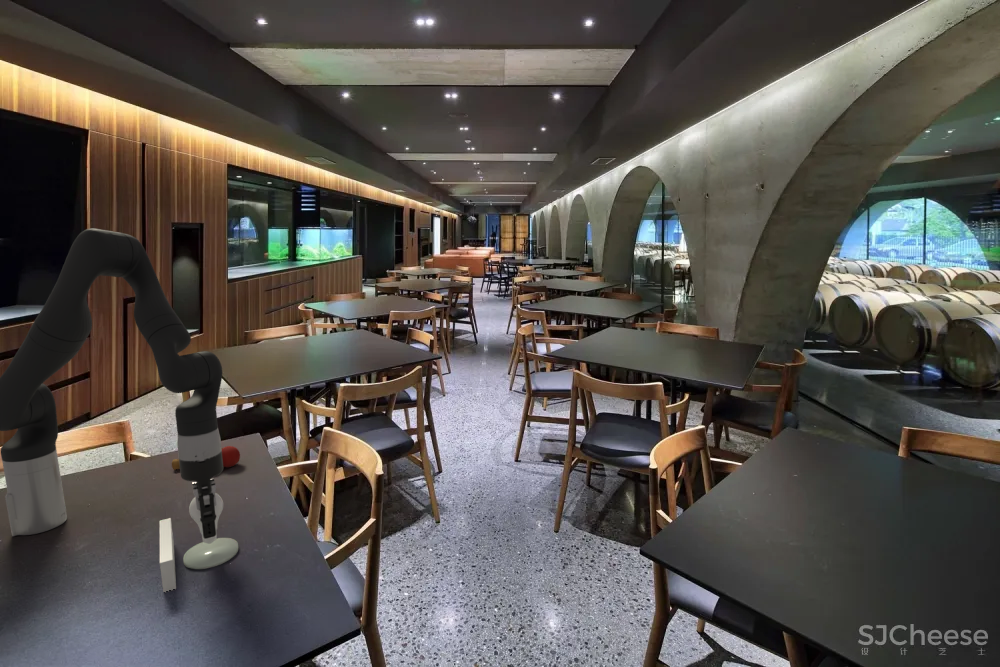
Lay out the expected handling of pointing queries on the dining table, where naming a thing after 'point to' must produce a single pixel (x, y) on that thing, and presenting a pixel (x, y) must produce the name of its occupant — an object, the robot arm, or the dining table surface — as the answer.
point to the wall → (167, 555)
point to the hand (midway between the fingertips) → (208, 529)
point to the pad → (210, 553)
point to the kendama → (228, 456)
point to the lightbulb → (196, 514)
